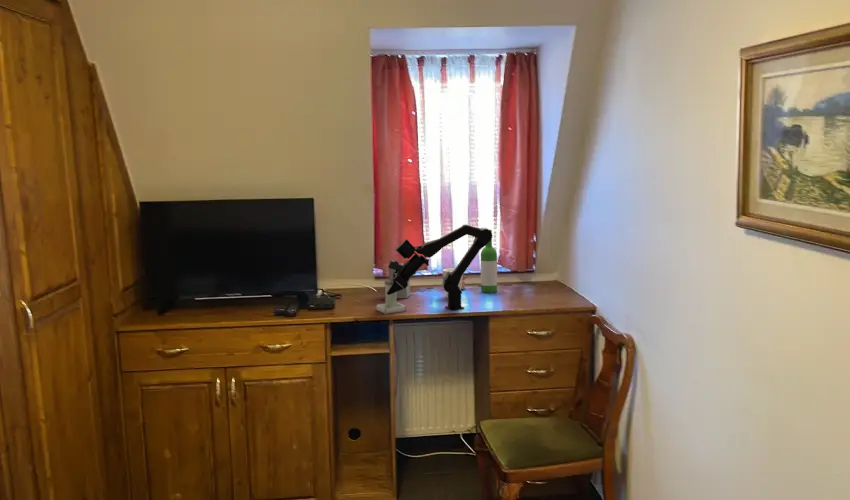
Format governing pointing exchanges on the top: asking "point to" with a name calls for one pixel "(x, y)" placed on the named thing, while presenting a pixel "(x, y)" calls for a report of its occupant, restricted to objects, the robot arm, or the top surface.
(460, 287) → the foam cup
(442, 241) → the robot arm
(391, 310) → the tray
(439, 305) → the top surface
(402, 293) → the skincare box
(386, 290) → the peg
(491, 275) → the wine bottle
